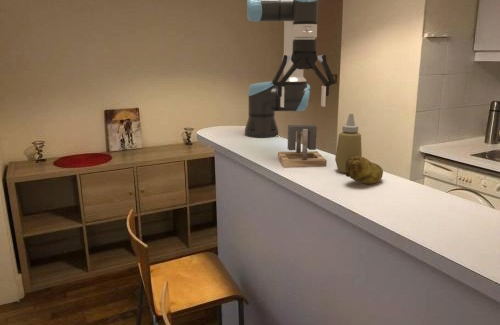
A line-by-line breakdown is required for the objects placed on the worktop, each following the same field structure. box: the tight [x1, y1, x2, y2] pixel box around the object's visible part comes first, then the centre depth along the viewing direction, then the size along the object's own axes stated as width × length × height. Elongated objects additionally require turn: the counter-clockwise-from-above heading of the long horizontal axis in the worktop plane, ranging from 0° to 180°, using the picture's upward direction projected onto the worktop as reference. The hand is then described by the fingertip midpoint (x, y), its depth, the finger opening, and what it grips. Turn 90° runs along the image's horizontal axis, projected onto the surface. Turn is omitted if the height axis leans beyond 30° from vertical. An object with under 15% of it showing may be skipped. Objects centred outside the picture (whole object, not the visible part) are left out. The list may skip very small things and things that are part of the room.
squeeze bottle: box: [334, 113, 363, 174], centre depth 126 cm, size 8×8×18 cm
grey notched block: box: [287, 124, 317, 151], centre depth 138 cm, size 9×3×8 cm, turn 95°
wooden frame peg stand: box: [277, 123, 328, 169], centre depth 139 cm, size 13×14×12 cm
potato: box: [345, 156, 384, 185], centre depth 116 cm, size 8×13×8 cm, turn 104°
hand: (302, 106), depth 136 cm, fingers open, 13 cm apart
